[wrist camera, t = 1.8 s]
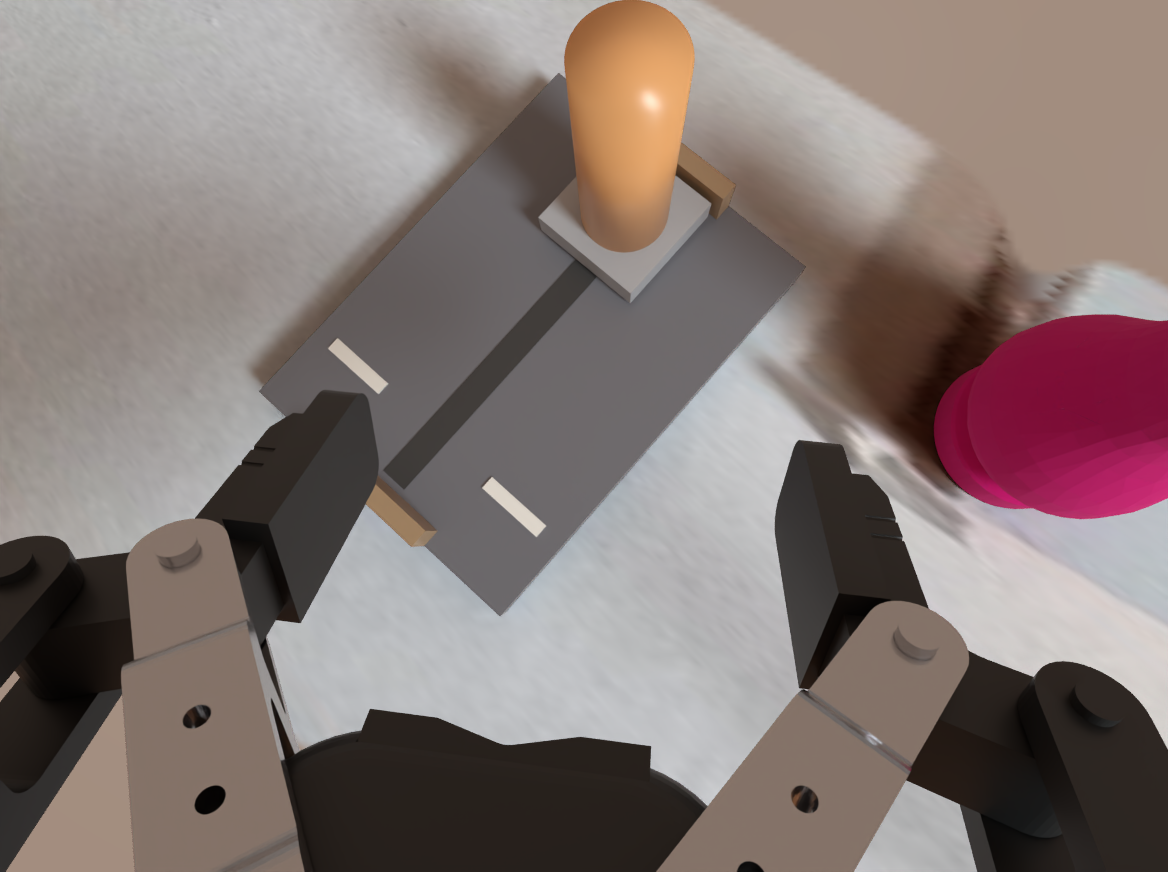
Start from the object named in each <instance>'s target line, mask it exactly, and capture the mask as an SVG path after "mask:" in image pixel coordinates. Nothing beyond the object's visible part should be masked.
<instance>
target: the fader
mask: <svg viewBox="0 0 1168 872" xmlns="http://www.w3.org/2000/svg"><path fill="white" fill-rule="evenodd" d="M564 65H565V74H566V83H567V93H568V102H569V111H570V120H571V130H572V139H573V148H574V158H575V167H576V177H575V178H574V179H573V180H572V182H571V183H570V184H569V185H568V186H567V187H566V188H565V189H564V190H563V191H562V192H561V193H560V195H559V196H558V197H557V198H556V199H555V200H554V201H553V202H552V203H551V204H550V205H549V206H548V208H547V209H546V210H545V211H544V212H543V213H542V214H541V215H540V216H539V217H538V218H539V222H540V226H541V230H542V231H543V232H544V233H545V234H547V235H548V236H549V237H550V238H551V239H553V240H554V241H555V242H556V243H557V244H559V245H560V246H561V247H562V248H564V249H565V250H566V251H567V252H568V253H570V254H571V255H572V256H573V257H574V258H576V259H577V260H578V261H579V262H580V263H582V264H583V265H584V266H585V267H586V268H588V269H589V270H590V271H591V272H593V273H594V274H595V275H596V276H597V277H599V278H600V279H601V280H602V281H603V282H605V283H606V284H607V285H608V286H609V287H611V288H612V289H613V290H614V291H616V292H617V293H618V294H619V295H620V296H622V297H623V298H624V299H625V300H626V301H628V302H629V303H631V302H632V301H633V300H634V299H635V297H636V296H637V295H638V294H639V293H640V292H641V291H642V290H643V289H644V287H645V286H646V285H647V284H648V283H649V282H650V281H651V280H652V279H653V277H654V276H655V275H656V274H657V273H658V272H659V271H660V270H661V269H662V267H663V266H664V265H665V264H666V263H667V262H668V261H669V260H670V258H671V257H672V256H673V255H674V254H675V253H676V252H677V251H678V250H679V248H680V247H681V246H682V245H683V244H684V243H685V242H686V241H687V240H688V238H689V237H690V236H691V235H692V234H693V233H694V232H695V231H696V230H697V228H698V227H699V226H700V225H701V224H702V223H703V222H704V221H705V219H706V218H707V217H708V214H709V210H710V207H711V203H710V202H709V201H707V200H706V199H705V198H704V197H702V196H701V195H700V194H699V193H697V192H696V191H695V190H693V189H692V188H691V187H690V186H688V185H687V184H686V183H685V182H683V181H682V180H681V179H679V178H678V177H677V176H676V175H675V174H676V169H677V163H678V157H679V151H680V145H681V139H682V133H683V127H684V121H685V115H686V110H687V104H688V98H689V92H690V86H691V80H692V74H693V68H694V48H693V43H692V40H691V37H690V35H689V33H688V31H687V29H686V28H685V26H684V25H683V24H682V22H681V21H680V20H679V19H678V18H677V17H676V16H675V15H673V14H672V13H671V12H669V11H668V10H666V9H665V8H663V7H661V6H659V5H656V4H653V3H650V2H646V1H641V0H621V1H615V2H612V3H608V4H606V5H603V6H601V7H599V8H597V9H595V10H593V11H592V12H591V13H589V14H588V15H586V16H585V17H584V18H583V19H582V20H581V21H580V22H579V23H578V25H577V26H576V27H575V29H574V30H573V32H572V33H571V35H570V38H569V40H568V42H567V46H566V50H565V56H564Z"/></svg>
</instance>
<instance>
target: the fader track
mask: <svg viewBox="0 0 1168 872" xmlns="http://www.w3.org/2000/svg"><path fill="white" fill-rule="evenodd" d="M675 175H676V176H677V177H678V178H679V179H681V180H682V181H683V182H685V183H686V184H687V185H688V186H690V187H691V188H692V189H693V190H695V191H696V192H697V193H699V194H700V195H701V196H702V197H704V198H705V199H706V200H707V201H709V202H710V203H711V207H710V210H709V214H708V217H707V218H706V219H705V221H704V222H703V223H702V224H701V225H700V226H699V227H698V228H697V230H696V231H695V232H694V233H693V234H692V235H691V236H690V237H689V238H688V240H687V241H686V242H685V243H684V244H683V245H682V246H681V247H680V248H679V250H678V251H677V252H676V253H675V254H674V255H673V256H672V257H671V258H670V260H669V261H668V262H667V263H666V264H665V265H664V266H663V267H662V269H661V270H660V271H659V272H658V273H657V274H656V275H655V276H654V277H653V279H652V280H651V281H650V282H649V283H648V284H647V285H646V286H645V287H644V289H643V290H642V291H641V292H640V293H639V294H638V295H637V296H636V297H635V299H634V300H633V301H632V302H631V303H629V302H628V301H626V300H625V299H624V298H623V297H622V296H620V295H619V294H618V293H617V292H616V291H614V290H613V289H612V288H611V287H609V286H608V285H607V284H606V283H605V282H603V281H602V280H601V279H600V278H599V277H597V276H596V275H595V274H594V273H593V272H591V271H590V270H589V269H588V268H586V267H585V266H584V265H583V264H582V263H580V262H579V261H578V260H577V259H576V258H574V257H573V256H572V255H571V254H570V253H568V252H567V251H566V250H565V249H564V248H562V247H561V246H560V245H559V244H557V243H556V242H555V241H554V240H553V239H551V238H550V237H549V236H548V235H547V234H545V233H544V232H543V231H542V230H541V226H540V222H539V218H538V217H539V216H540V215H541V214H542V213H543V212H544V211H545V210H546V209H547V208H548V206H549V205H550V204H551V203H552V202H553V201H554V200H555V199H556V198H557V197H558V196H559V195H560V193H561V192H562V191H563V190H564V189H565V188H566V187H567V186H568V185H569V184H570V183H571V182H572V180H573V179H574V178H575V177H576V167H575V158H574V148H573V139H572V130H571V120H570V111H569V102H568V93H567V83H566V78H564V77H563V76H562V75H561V74H559V73H558V74H557V75H556V76H555V77H554V78H553V79H552V80H551V81H550V82H549V84H548V85H547V86H546V87H545V88H544V89H543V90H542V91H541V92H540V93H539V94H538V95H537V96H536V97H535V98H534V99H533V101H532V102H531V103H530V104H529V105H528V106H527V107H526V108H525V109H524V110H523V111H522V112H521V113H520V114H519V115H518V116H517V118H516V119H515V120H514V121H513V122H512V123H511V124H510V125H509V126H508V127H507V128H506V129H505V130H504V131H503V132H502V133H501V135H500V136H499V137H498V138H497V139H496V140H495V141H494V142H493V143H492V144H491V145H490V146H489V147H488V148H487V149H486V150H485V152H484V153H483V154H482V155H481V156H480V157H479V158H478V159H477V160H476V161H475V162H474V163H473V164H472V165H471V166H470V167H469V169H468V170H467V171H466V172H465V173H464V174H463V175H462V176H461V177H460V178H459V179H458V180H457V181H456V182H455V183H454V184H453V186H452V187H451V188H450V189H449V190H448V191H447V192H446V193H445V194H444V195H443V196H442V197H441V198H440V199H439V200H438V201H437V203H436V204H435V205H434V206H433V207H432V208H431V209H430V210H429V211H428V212H427V213H426V214H425V215H424V216H423V217H422V218H421V220H420V221H419V222H418V223H417V224H416V225H415V226H414V227H413V228H412V229H411V230H410V231H409V232H408V233H407V234H406V235H405V237H404V238H403V239H402V240H401V241H400V242H399V243H398V244H397V245H396V246H395V247H394V248H393V249H392V250H391V251H390V252H389V254H388V255H387V256H386V257H385V258H384V259H383V260H382V261H381V262H380V263H379V264H378V265H377V266H376V267H375V268H374V269H373V271H372V272H371V273H370V274H369V275H368V276H367V277H366V278H365V279H364V280H363V281H362V282H361V283H360V284H359V285H358V286H357V288H356V289H355V290H354V291H353V292H352V293H351V294H350V295H349V296H348V297H347V298H346V299H345V300H344V301H343V302H342V303H341V305H340V306H339V307H338V308H337V309H336V310H335V311H334V312H333V313H332V314H331V315H330V316H329V317H328V318H327V319H326V320H325V322H324V323H323V324H322V325H321V326H320V327H319V328H318V329H317V330H316V331H315V332H314V333H313V334H312V335H311V336H310V337H309V339H308V340H307V341H306V342H305V343H304V344H303V345H302V346H301V347H300V348H299V349H298V350H297V351H296V352H295V353H294V354H293V356H292V357H291V358H290V359H289V360H288V361H287V362H286V363H285V364H284V365H283V366H282V367H281V368H280V369H279V370H278V371H277V373H276V374H275V375H274V376H273V377H272V378H271V379H270V380H269V381H268V382H267V383H266V384H265V385H264V386H263V387H262V388H261V390H260V391H259V392H260V393H261V394H262V395H263V396H264V397H266V398H267V399H268V400H269V401H270V402H271V403H272V404H273V405H274V406H275V407H276V408H277V409H278V410H279V411H281V412H282V413H283V414H284V415H285V416H286V417H287V416H289V415H290V414H292V413H301V414H303V413H304V412H305V410H306V409H307V408H308V406H309V405H310V404H311V403H312V401H313V400H314V399H315V397H316V396H317V395H318V394H319V392H321V391H322V390H335V391H344V392H354V393H363V394H365V395H366V397H367V398H368V401H369V405H370V411H371V416H372V422H373V428H374V434H375V439H376V445H377V451H378V457H379V470H378V476H377V481H376V484H375V487H374V489H373V491H372V493H371V495H370V497H369V498H368V500H367V502H366V505H367V506H368V507H369V508H371V509H372V510H373V511H374V512H375V513H376V514H377V515H378V516H379V517H380V518H381V519H382V520H383V521H384V522H385V523H387V524H388V525H389V526H390V527H391V528H392V529H393V530H394V531H395V532H396V533H397V534H398V535H399V536H400V537H401V538H403V539H404V540H405V541H406V542H407V543H408V544H409V545H410V546H411V547H415V546H425V547H426V548H427V549H428V550H429V551H431V552H432V553H433V554H434V555H435V556H436V557H437V558H438V559H439V560H440V561H441V562H442V563H443V564H444V565H446V566H447V567H448V568H449V569H450V570H451V571H452V572H453V573H454V574H455V575H456V576H457V577H458V578H459V579H461V580H462V581H463V582H464V583H465V584H466V585H467V586H468V587H469V588H470V589H471V590H472V591H473V592H474V593H476V594H477V595H478V596H479V597H480V598H481V599H482V600H483V601H484V602H485V603H486V604H487V605H488V606H489V607H491V608H492V609H493V610H494V611H495V612H496V613H497V614H498V615H499V616H501V615H503V614H504V613H505V612H506V611H507V610H508V609H509V608H510V607H511V606H512V605H513V603H514V602H515V601H516V600H517V599H518V598H519V597H520V595H521V594H522V593H523V592H524V591H525V590H526V589H527V587H528V586H529V585H530V584H531V583H532V582H533V581H534V579H535V578H536V577H537V576H538V575H539V574H540V573H541V571H542V570H543V569H544V568H545V567H546V566H547V565H548V563H549V562H550V561H551V560H552V559H553V558H554V557H555V555H556V554H557V553H558V552H559V551H560V550H561V549H562V547H563V546H564V545H565V544H566V543H567V542H568V541H569V539H570V538H571V537H572V536H573V535H574V534H575V533H576V531H577V530H578V529H579V528H580V527H581V526H582V525H583V523H584V522H585V521H586V520H587V519H588V518H589V517H590V515H591V514H592V513H593V512H594V511H595V510H596V509H597V507H598V506H599V505H600V504H601V503H602V502H603V501H604V499H605V498H606V497H607V496H608V495H609V494H610V493H611V491H612V490H613V489H614V488H615V487H616V486H617V485H618V483H619V482H620V481H621V480H622V479H623V478H624V477H625V475H626V474H627V473H628V472H629V471H630V470H631V469H632V467H633V466H634V465H635V464H636V463H637V462H638V461H639V459H640V458H641V457H642V456H643V455H644V454H645V453H646V451H647V450H648V449H649V448H650V447H651V446H652V445H653V443H654V442H655V441H656V440H657V439H658V438H659V437H660V435H661V434H662V433H663V432H664V431H665V430H666V429H667V427H668V426H669V425H670V424H671V423H672V422H673V421H674V419H675V418H676V417H677V416H678V415H679V414H680V413H681V411H682V410H683V409H684V408H685V407H686V406H687V405H688V403H689V402H690V401H691V400H692V399H693V398H694V397H695V395H696V394H697V393H698V392H699V391H700V390H701V389H702V387H703V386H704V385H705V384H706V383H707V382H708V381H709V379H710V378H711V377H712V376H713V375H714V374H715V373H716V371H717V370H718V369H719V368H720V367H721V366H722V365H723V363H724V362H725V361H726V360H727V359H728V358H729V357H730V355H731V354H732V353H733V352H734V351H735V350H736V349H737V347H738V346H739V345H740V344H741V343H742V342H743V341H744V339H745V338H746V337H747V336H748V335H749V334H750V333H751V331H752V330H753V329H754V328H755V327H756V326H757V325H758V323H759V322H760V321H761V320H762V319H763V318H764V317H765V315H766V314H767V313H768V312H769V311H770V310H771V309H772V307H773V306H774V305H775V304H776V303H777V302H778V301H779V299H780V298H781V297H782V296H783V295H784V294H785V293H786V291H787V290H788V289H789V288H790V287H791V286H792V285H793V283H794V282H795V281H796V280H797V279H798V277H799V276H800V274H801V273H802V272H803V270H804V269H805V267H806V266H804V265H803V264H802V263H800V262H799V261H798V260H797V259H795V258H794V257H793V256H791V255H790V254H789V253H788V252H786V251H785V250H784V249H783V248H781V247H780V246H779V245H777V244H776V243H775V242H774V241H772V240H771V239H770V238H769V237H767V236H766V235H765V234H763V233H762V232H761V231H760V230H758V229H757V228H756V227H754V226H753V225H752V224H751V223H749V222H748V221H747V220H746V219H744V218H743V217H742V216H740V215H739V214H738V213H737V212H735V211H734V210H733V209H732V208H730V207H729V204H730V201H731V198H732V195H733V192H734V189H735V186H736V185H735V184H734V183H733V182H732V181H730V180H729V179H728V178H726V177H725V176H724V175H723V174H721V173H720V172H719V171H717V170H716V169H715V168H714V167H712V166H711V165H710V164H708V163H707V162H706V161H705V160H703V159H702V158H701V157H699V156H698V155H697V154H696V153H694V152H693V151H692V150H690V149H689V148H688V147H687V146H685V145H684V144H683V143H681V145H680V151H679V157H678V163H677V169H676V174H675Z"/></svg>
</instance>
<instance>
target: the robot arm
mask: <svg viewBox="0 0 1168 872" xmlns="http://www.w3.org/2000/svg"><path fill="white" fill-rule="evenodd" d="M378 470H379V457H378V451H377V445H376V439H375V434H374V428H373V422H372V416H371V411H370V405H369V401H368V398H367V397H366V395H365V394H363V393H354V392H344V391H335V390H322V391H321V392H319V394H318V395H317V396H316V397H315V399H314V400H313V401H312V403H311V404H310V405H309V406H308V408H307V409H306V410H305V412H304V413H303V414H301V413H292V414H290V415H289V416H287V417H285V418H284V419H282V420H281V421H279V422H277V423H276V424H274V425H273V426H271V427H270V428H269V429H268V430H267V431H266V432H265V433H264V435H263V436H262V437H261V438H260V440H259V441H258V442H257V443H256V444H255V446H254V450H251V451H250V452H249V453H248V454H247V455H246V457H245V458H244V459H243V460H242V465H238V466H237V468H236V469H235V470H234V471H233V472H232V474H231V475H230V476H229V477H228V479H227V480H226V481H225V482H224V483H223V485H222V486H221V487H220V488H219V490H218V491H217V492H216V493H215V494H214V496H213V497H212V498H211V499H210V501H209V502H208V503H207V504H206V505H205V507H204V508H203V509H202V510H201V512H200V513H199V514H198V515H197V516H196V518H195V519H187V520H181V521H177V522H173V523H170V524H167V525H165V526H162V527H160V528H158V529H156V530H154V531H153V532H151V533H149V534H148V535H146V536H145V537H144V538H142V539H141V540H140V541H139V542H138V543H137V544H136V545H135V546H134V548H133V549H132V550H131V552H129V553H122V554H114V555H106V556H98V557H90V558H83V559H75V557H74V556H73V554H72V552H71V551H70V549H69V547H68V546H67V544H66V543H65V542H63V541H62V540H60V539H58V538H55V537H50V536H31V537H25V538H20V539H16V540H13V541H9V542H7V543H4V544H2V545H0V687H2V685H3V684H4V683H5V682H6V680H7V679H8V678H9V677H10V675H11V674H12V673H13V672H14V671H15V672H16V673H17V674H18V676H19V677H20V678H19V679H18V681H17V682H16V683H15V684H14V686H13V687H12V688H11V689H10V691H9V692H8V693H7V694H6V696H5V697H4V698H3V699H2V701H1V702H0V872H6V870H7V869H8V867H9V865H10V864H11V862H12V861H13V860H14V858H15V857H16V855H17V853H18V852H19V850H20V849H21V847H22V846H23V844H24V843H25V841H26V840H27V838H28V837H29V835H30V833H31V832H32V830H33V829H34V828H35V826H36V825H37V823H38V821H39V820H40V818H41V817H42V815H43V814H44V812H45V811H46V809H47V808H48V806H49V804H50V803H51V802H52V800H53V799H54V797H55V796H56V794H57V793H58V791H59V789H60V788H61V786H62V785H63V783H64V782H65V780H66V779H67V777H68V776H69V774H70V773H71V771H72V770H73V768H74V767H75V765H76V764H77V762H78V760H79V759H80V757H81V756H82V754H83V753H84V751H85V750H86V748H87V747H88V745H89V744H90V742H91V740H92V739H93V738H94V736H95V735H96V733H97V732H98V730H99V728H100V727H101V725H102V724H103V722H104V721H105V719H106V718H107V716H108V715H109V713H110V712H111V710H112V709H113V707H114V705H115V704H116V702H117V701H118V700H119V698H120V696H121V695H122V698H123V713H124V727H125V740H126V755H127V769H128V783H129V797H130V810H131V826H132V838H133V839H132V840H133V853H134V867H135V872H854V870H855V869H856V867H857V865H858V863H859V862H860V860H861V858H862V856H863V855H864V853H865V851H866V849H867V848H868V846H869V844H870V842H871V841H872V839H873V837H874V835H875V834H876V832H877V830H878V828H879V827H880V825H881V823H882V821H883V820H884V818H885V816H886V814H887V813H888V811H889V809H890V807H891V805H892V804H893V802H894V800H895V798H896V797H897V795H898V793H899V791H900V790H901V788H902V786H903V784H904V783H905V781H906V780H907V781H909V782H911V783H913V784H916V785H918V786H920V787H922V788H925V789H927V790H929V791H931V792H933V793H936V794H938V795H940V796H942V797H945V798H947V799H949V800H951V801H954V802H956V803H958V804H960V807H961V811H962V815H963V819H964V822H965V826H966V830H967V834H968V838H969V842H970V845H971V849H972V853H973V857H974V861H975V865H976V868H977V872H1168V749H1167V747H1166V745H1165V743H1164V742H1163V740H1162V738H1161V736H1160V734H1159V732H1158V730H1157V728H1156V727H1155V725H1154V723H1153V721H1152V719H1151V717H1150V716H1149V714H1148V712H1147V711H1146V709H1145V708H1144V707H1143V705H1142V704H1141V703H1140V702H1139V700H1138V699H1137V698H1136V697H1135V696H1134V695H1133V694H1132V693H1131V692H1130V691H1128V690H1127V689H1126V688H1125V687H1124V686H1122V685H1121V684H1120V683H1118V682H1117V681H1115V680H1114V679H1113V678H1111V677H1109V676H1107V675H1106V674H1104V673H1102V672H1100V671H1098V670H1096V669H1093V668H1091V667H1088V666H1085V665H1082V664H1078V663H1074V662H1065V661H1062V662H1053V663H1049V664H1047V665H1045V666H1043V667H1042V668H1041V669H1040V670H1039V671H1038V672H1037V674H1036V675H1035V676H1034V677H1032V676H1029V675H1027V674H1024V673H1021V672H1019V671H1016V670H1013V669H1011V668H1008V667H1005V666H1003V665H1000V664H997V663H995V662H992V661H990V660H987V659H985V658H982V657H980V656H978V655H976V654H974V653H972V652H970V651H968V649H967V646H966V644H965V642H964V640H963V638H962V637H961V635H960V634H959V633H958V631H957V630H956V629H955V628H954V627H953V626H952V625H951V624H950V623H949V622H948V621H947V620H945V619H944V618H943V617H942V616H940V615H938V614H937V613H935V612H934V611H932V610H930V609H929V608H928V605H927V602H926V600H925V597H924V594H923V591H922V589H921V586H920V583H919V580H918V578H917V575H916V572H915V570H914V567H913V564H912V561H911V559H910V556H909V553H908V550H907V548H906V545H905V542H904V541H902V534H901V531H900V528H899V526H898V523H895V520H896V518H895V515H894V512H893V509H892V507H891V504H890V501H889V498H888V496H887V495H886V494H885V493H884V492H883V490H882V489H881V488H880V487H879V486H878V485H877V484H876V483H875V482H874V481H873V480H872V478H871V477H870V476H869V475H861V474H852V473H851V470H850V467H849V464H848V460H847V457H846V454H845V451H844V448H843V446H842V445H840V444H831V443H822V442H812V441H803V440H799V441H797V443H796V444H795V447H794V449H793V452H792V456H791V459H790V462H789V466H788V469H787V473H786V476H785V479H784V483H783V486H782V489H781V493H780V496H779V499H778V503H777V508H776V515H775V538H776V544H777V550H778V557H779V563H780V569H781V576H782V582H783V588H784V595H785V601H786V608H787V614H788V620H789V627H790V633H791V639H792V646H793V652H794V659H795V665H796V671H797V678H798V684H799V688H802V689H803V690H801V691H800V692H799V693H798V694H797V695H796V696H795V697H794V698H793V699H792V700H791V702H790V703H789V704H788V705H787V707H786V708H785V709H784V711H783V712H782V713H781V714H780V716H779V717H778V718H777V719H776V721H775V722H774V723H773V724H772V726H771V727H770V728H769V730H768V731H767V732H766V733H765V735H764V736H763V737H762V738H761V740H760V741H759V742H758V743H757V745H756V746H755V747H754V749H753V750H752V751H751V752H750V754H749V755H748V756H747V757H746V759H745V760H744V761H743V762H742V764H741V765H740V766H739V768H738V769H737V770H736V771H735V773H734V774H733V775H732V776H731V778H730V779H729V780H728V781H727V783H726V784H725V785H724V787H723V788H722V789H721V790H720V792H719V793H718V794H717V795H716V797H715V798H714V799H713V800H712V802H711V803H710V804H709V806H707V805H706V804H705V803H704V802H703V801H701V800H700V799H699V798H698V797H697V796H696V795H695V794H694V793H692V792H691V791H690V790H688V789H687V788H685V787H684V786H683V785H681V784H680V783H678V782H677V781H675V780H673V779H671V778H670V777H668V776H666V775H664V774H662V773H660V772H658V771H655V770H653V769H651V768H650V759H651V746H645V745H637V744H630V743H622V742H615V741H607V740H600V739H592V738H585V737H576V738H567V739H559V740H551V741H542V742H534V743H525V744H517V745H502V744H499V743H496V742H494V741H492V740H489V739H487V738H484V737H482V736H480V735H477V734H475V733H473V732H470V731H468V730H465V729H463V728H461V727H458V726H456V725H453V724H451V723H449V722H446V721H444V720H442V719H439V718H435V717H427V716H420V715H412V714H405V713H397V712H390V711H382V710H375V709H370V710H369V713H368V715H367V718H366V720H365V723H364V725H363V728H362V730H361V731H356V732H351V733H347V734H342V735H338V736H334V737H332V738H329V739H326V740H323V741H320V742H318V743H316V744H314V745H311V746H309V747H307V748H305V749H303V750H301V751H300V750H299V747H298V744H297V741H296V738H295V735H294V732H293V728H292V725H291V721H290V717H289V714H288V710H287V706H286V703H285V699H284V695H283V692H282V688H281V684H280V680H279V677H278V673H277V669H276V666H275V662H274V658H273V655H272V651H271V647H270V644H269V641H268V638H267V634H268V632H269V631H270V629H271V627H272V626H273V624H274V622H275V620H280V621H288V622H296V623H301V621H302V620H303V618H304V616H305V614H306V612H307V610H308V609H309V607H310V605H311V603H312V601H313V599H314V598H315V596H316V594H317V592H318V590H319V588H320V586H321V585H322V583H323V581H324V579H325V577H326V575H327V574H328V572H329V570H330V568H331V566H332V564H333V563H334V561H335V559H336V557H337V555H338V553H339V552H340V550H341V548H342V546H343V544H344V542H345V541H346V539H347V537H348V535H349V533H350V531H351V530H352V528H353V526H354V524H355V522H356V520H357V519H358V517H359V515H360V513H361V511H362V509H363V508H364V506H365V504H366V502H367V500H368V498H369V497H370V495H371V493H372V491H373V489H374V487H375V484H376V481H377V476H378ZM804 689H809V690H808V691H806V690H804Z"/></svg>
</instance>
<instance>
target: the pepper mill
mask: <svg viewBox="0 0 1168 872" xmlns="http://www.w3.org/2000/svg"><path fill="white" fill-rule="evenodd" d="M934 438H935V445H936V448H937V452H938V455H939V458H940V460H941V462H942V464H943V466H944V467H945V469H946V471H947V472H948V474H949V475H950V476H951V477H952V479H953V480H954V481H955V482H956V483H957V484H958V485H959V486H960V487H961V488H962V489H963V490H964V491H966V492H967V493H968V494H970V495H972V496H973V497H975V498H977V499H979V500H981V501H983V502H985V503H988V504H991V505H993V506H997V507H1003V508H1011V509H1025V508H1034V509H1036V510H1039V511H1041V512H1044V513H1046V514H1051V515H1055V516H1060V517H1066V518H1075V519H1092V518H1102V517H1108V516H1114V515H1120V514H1126V513H1131V512H1135V511H1138V510H1140V509H1143V508H1146V507H1149V506H1151V505H1153V504H1155V503H1158V502H1160V501H1162V500H1165V499H1167V498H1168V320H1167V321H1152V320H1145V319H1139V318H1133V317H1127V316H1121V315H1081V316H1070V317H1065V318H1060V319H1055V320H1052V321H1049V322H1046V323H1044V324H1041V325H1038V326H1035V327H1032V328H1030V329H1027V330H1025V331H1022V332H1020V333H1018V334H1016V335H1015V336H1013V337H1012V338H1010V339H1009V340H1007V341H1006V342H1004V343H1003V344H1001V345H1000V346H999V347H998V348H996V349H995V350H994V352H993V353H992V354H991V355H990V356H989V357H988V358H987V359H986V360H985V361H984V363H983V364H982V365H980V366H978V367H976V368H974V369H972V370H969V371H967V372H966V373H964V374H963V375H961V376H960V377H959V378H958V379H956V380H955V381H954V382H953V383H952V384H951V386H950V387H949V388H948V389H947V390H946V392H945V394H944V395H943V397H942V398H941V400H940V403H939V405H938V408H937V411H936V415H935V422H934Z"/></svg>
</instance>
